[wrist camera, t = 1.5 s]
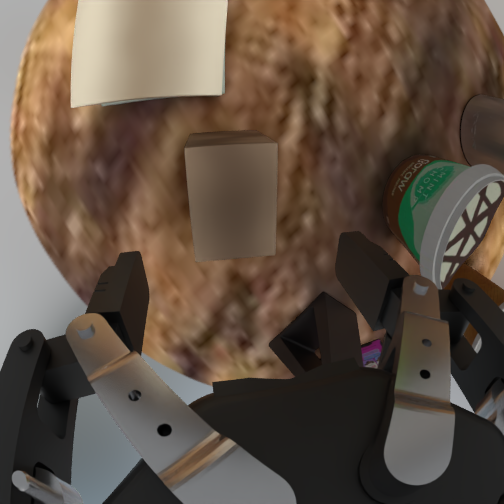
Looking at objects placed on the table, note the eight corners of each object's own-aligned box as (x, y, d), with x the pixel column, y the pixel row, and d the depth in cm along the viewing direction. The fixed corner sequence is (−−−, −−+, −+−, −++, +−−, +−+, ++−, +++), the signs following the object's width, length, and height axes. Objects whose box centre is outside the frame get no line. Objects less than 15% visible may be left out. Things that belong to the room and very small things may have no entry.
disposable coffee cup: (435, 318, 37) (477, 373, 27) (424, 283, 33) (479, 346, 22) (477, 280, 35) (523, 327, 25) (472, 240, 31) (531, 290, 20)
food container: (415, 116, 22) (497, 139, 13) (447, 153, 24) (519, 186, 16) (348, 219, 26) (408, 280, 18) (386, 245, 29) (443, 304, 20)
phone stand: (323, 290, 30) (372, 380, 20) (354, 311, 33) (401, 391, 22) (268, 343, 33) (293, 434, 22) (302, 358, 35) (331, 438, 25)
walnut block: (255, 130, 21) (277, 143, 15) (256, 213, 25) (275, 255, 19) (190, 133, 20) (184, 148, 14) (196, 217, 24) (195, 262, 18)
